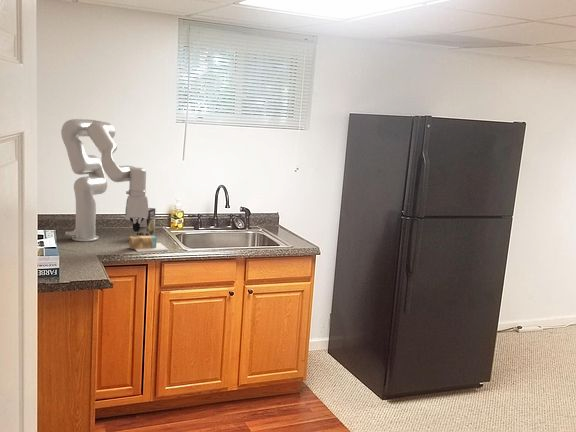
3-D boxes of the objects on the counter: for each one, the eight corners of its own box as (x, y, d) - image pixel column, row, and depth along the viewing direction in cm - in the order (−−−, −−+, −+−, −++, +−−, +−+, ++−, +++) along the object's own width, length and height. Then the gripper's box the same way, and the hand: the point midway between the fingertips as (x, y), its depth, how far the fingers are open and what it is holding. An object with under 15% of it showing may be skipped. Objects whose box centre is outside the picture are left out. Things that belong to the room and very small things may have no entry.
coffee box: (147, 241, 301) (148, 210, 298) (135, 240, 302) (136, 209, 300) (155, 238, 310) (156, 208, 307) (143, 237, 311) (144, 207, 308)
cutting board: (137, 252, 278) (137, 250, 278) (130, 245, 290) (130, 244, 290) (168, 250, 286) (168, 249, 286) (159, 244, 298) (159, 242, 298)
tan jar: (131, 238, 281) (156, 237, 286) (129, 236, 285) (153, 235, 291) (131, 248, 281) (156, 247, 287) (129, 246, 286) (153, 245, 292)
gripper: (123, 195, 273) (122, 233, 277) (154, 194, 281) (153, 232, 284) (119, 192, 280) (118, 230, 283) (150, 192, 287) (149, 229, 290)
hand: (136, 231), depth 284 cm, fingers closed
